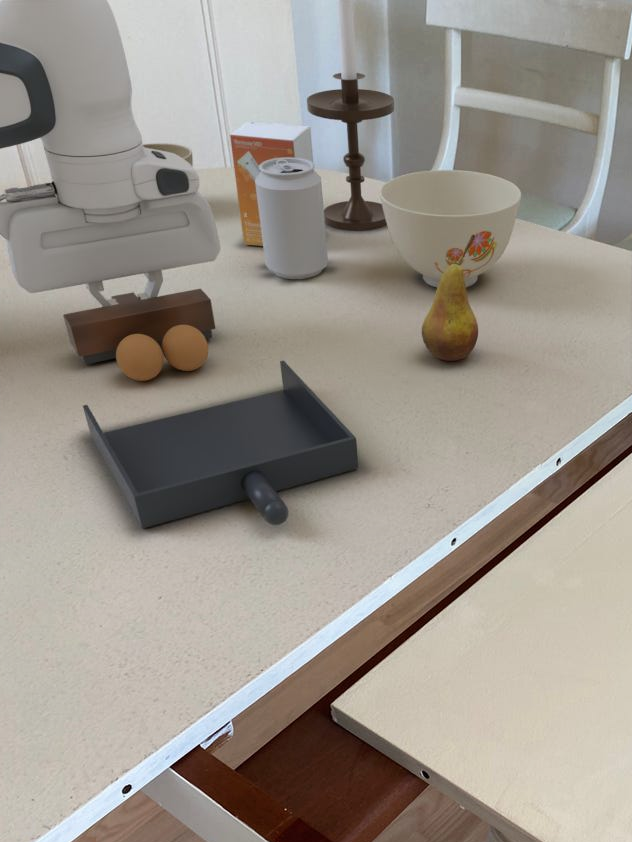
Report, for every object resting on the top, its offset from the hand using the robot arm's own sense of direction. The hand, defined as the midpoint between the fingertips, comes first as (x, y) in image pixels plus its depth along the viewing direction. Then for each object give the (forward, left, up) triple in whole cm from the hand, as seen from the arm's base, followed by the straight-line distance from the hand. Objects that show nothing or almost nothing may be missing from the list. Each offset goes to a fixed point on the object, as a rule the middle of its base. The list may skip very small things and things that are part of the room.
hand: (132, 315), depth 102 cm
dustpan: (0, -31, -2) cm, 31 cm away
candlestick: (+36, +22, -2) cm, 42 cm away
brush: (0, -2, -2) cm, 2 cm away
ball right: (+2, -10, 0) cm, 11 cm away
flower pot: (+14, +37, -2) cm, 39 cm away
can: (+22, +9, -2) cm, 24 cm away
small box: (+24, +19, -2) cm, 30 cm away
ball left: (-2, -10, 0) cm, 11 cm away
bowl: (+37, -2, -2) cm, 37 cm away
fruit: (+27, -20, -2) cm, 34 cm away
